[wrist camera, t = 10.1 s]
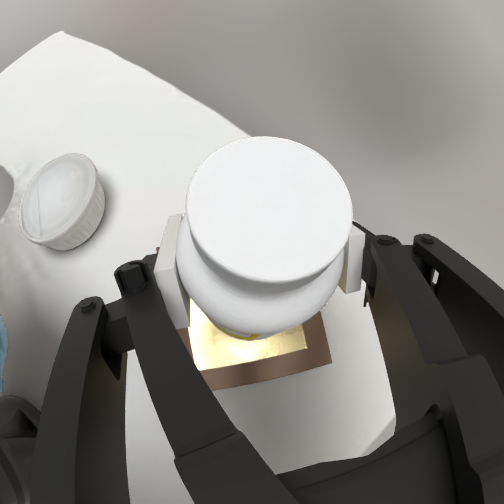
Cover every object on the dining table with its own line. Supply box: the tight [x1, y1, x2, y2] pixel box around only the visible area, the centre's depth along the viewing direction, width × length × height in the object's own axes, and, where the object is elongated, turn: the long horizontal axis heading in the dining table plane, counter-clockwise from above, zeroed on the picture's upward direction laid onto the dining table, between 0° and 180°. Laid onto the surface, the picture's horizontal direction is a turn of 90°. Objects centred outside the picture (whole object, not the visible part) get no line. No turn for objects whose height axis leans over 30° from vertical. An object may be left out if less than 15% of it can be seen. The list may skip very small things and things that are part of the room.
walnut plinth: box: [156, 247, 332, 391], centre depth 25 cm, size 14×14×2 cm
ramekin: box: [19, 153, 105, 251], centre depth 26 cm, size 11×11×5 cm
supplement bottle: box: [176, 136, 353, 341], centre depth 13 cm, size 7×7×13 cm
